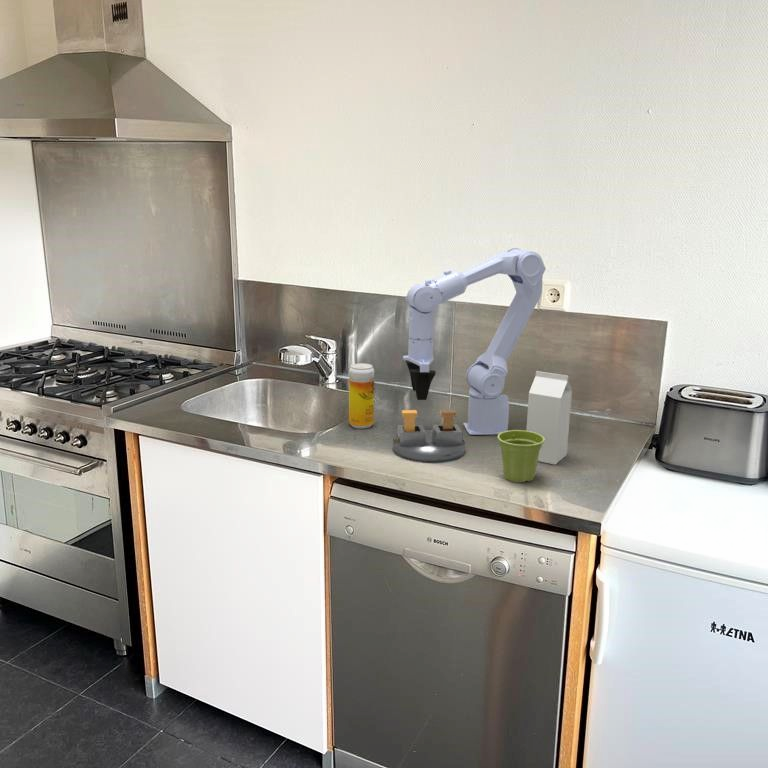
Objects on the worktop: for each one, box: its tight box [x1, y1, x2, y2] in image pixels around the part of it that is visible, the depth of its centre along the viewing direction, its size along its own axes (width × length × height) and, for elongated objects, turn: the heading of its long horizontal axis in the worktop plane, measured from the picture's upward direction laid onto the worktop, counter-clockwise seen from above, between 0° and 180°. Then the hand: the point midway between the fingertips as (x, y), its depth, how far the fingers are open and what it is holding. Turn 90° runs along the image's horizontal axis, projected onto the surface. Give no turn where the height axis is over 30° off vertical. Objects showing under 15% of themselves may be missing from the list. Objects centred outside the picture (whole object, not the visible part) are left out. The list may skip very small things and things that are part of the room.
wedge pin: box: [401, 409, 418, 432], centre depth 169 cm, size 3×2×7 cm
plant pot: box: [497, 429, 545, 483], centre depth 155 cm, size 9×9×9 cm
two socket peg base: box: [392, 409, 466, 464], centre depth 170 cm, size 16×16×9 cm
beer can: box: [348, 362, 375, 430], centre depth 185 cm, size 6×6×15 cm
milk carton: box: [525, 370, 573, 466], centre depth 165 cm, size 7×7×19 cm
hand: (419, 394), depth 178 cm, fingers open, 7 cm apart
